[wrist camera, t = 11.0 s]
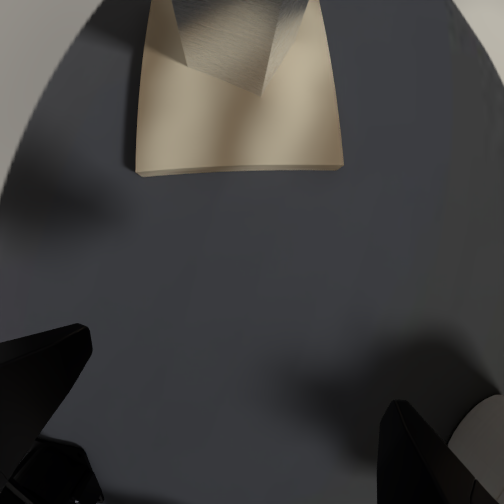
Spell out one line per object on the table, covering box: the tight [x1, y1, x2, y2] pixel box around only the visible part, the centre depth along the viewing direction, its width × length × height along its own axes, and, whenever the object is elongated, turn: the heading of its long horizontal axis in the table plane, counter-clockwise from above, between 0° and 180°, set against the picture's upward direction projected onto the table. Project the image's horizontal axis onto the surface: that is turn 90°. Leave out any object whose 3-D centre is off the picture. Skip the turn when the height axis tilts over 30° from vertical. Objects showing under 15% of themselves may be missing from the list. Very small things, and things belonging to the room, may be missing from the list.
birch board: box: [136, 0, 344, 177], centre depth 18 cm, size 12×14×2 cm
